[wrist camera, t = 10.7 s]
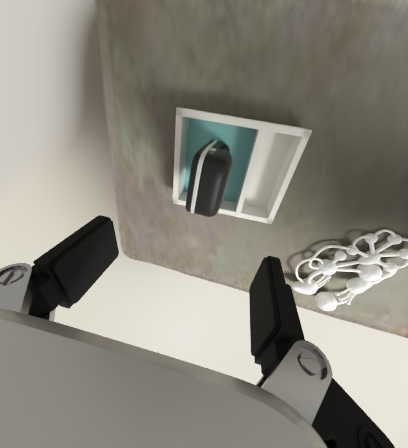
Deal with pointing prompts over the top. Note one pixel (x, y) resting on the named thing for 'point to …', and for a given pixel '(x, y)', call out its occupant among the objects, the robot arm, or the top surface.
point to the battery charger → (208, 178)
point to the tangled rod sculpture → (365, 269)
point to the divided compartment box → (241, 160)
